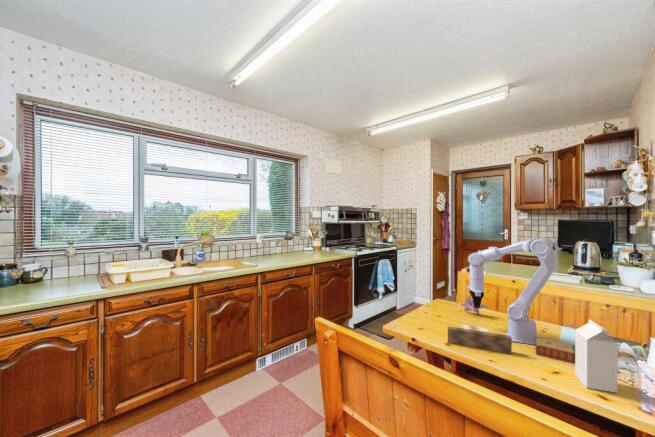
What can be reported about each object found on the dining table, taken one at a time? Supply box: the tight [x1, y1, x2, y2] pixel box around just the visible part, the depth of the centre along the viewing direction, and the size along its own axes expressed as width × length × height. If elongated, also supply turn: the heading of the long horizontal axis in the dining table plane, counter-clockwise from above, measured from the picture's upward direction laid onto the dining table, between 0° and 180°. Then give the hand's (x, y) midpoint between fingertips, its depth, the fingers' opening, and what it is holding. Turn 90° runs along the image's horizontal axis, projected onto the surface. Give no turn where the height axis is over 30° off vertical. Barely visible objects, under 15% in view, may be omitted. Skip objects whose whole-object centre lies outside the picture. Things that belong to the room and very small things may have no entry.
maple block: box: [460, 324, 490, 333], centre depth 112 cm, size 10×7×5 cm
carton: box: [535, 337, 575, 365], centre depth 99 cm, size 8×16×4 cm, turn 53°
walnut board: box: [447, 325, 513, 355], centre depth 107 cm, size 22×2×6 cm, turn 65°
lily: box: [459, 296, 488, 318], centre depth 140 cm, size 12×12×10 cm
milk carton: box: [574, 318, 619, 394], centre depth 83 cm, size 7×7×19 cm
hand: (476, 307), depth 125 cm, fingers closed
